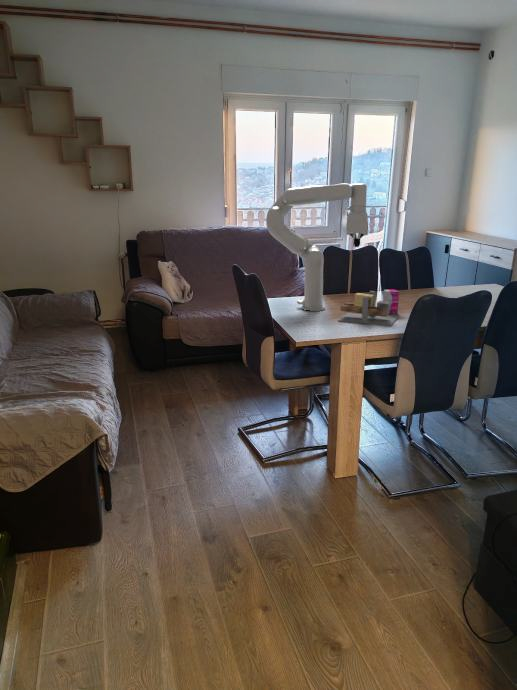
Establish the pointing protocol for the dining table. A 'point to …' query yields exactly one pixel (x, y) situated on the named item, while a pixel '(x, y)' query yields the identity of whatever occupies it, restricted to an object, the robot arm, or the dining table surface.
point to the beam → (380, 310)
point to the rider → (359, 300)
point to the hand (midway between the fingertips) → (356, 246)
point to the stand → (366, 318)
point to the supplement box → (392, 300)
